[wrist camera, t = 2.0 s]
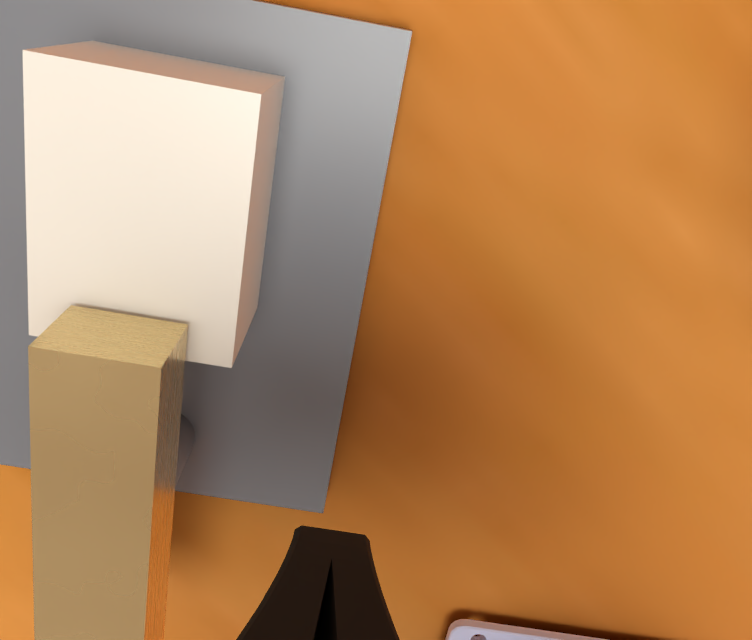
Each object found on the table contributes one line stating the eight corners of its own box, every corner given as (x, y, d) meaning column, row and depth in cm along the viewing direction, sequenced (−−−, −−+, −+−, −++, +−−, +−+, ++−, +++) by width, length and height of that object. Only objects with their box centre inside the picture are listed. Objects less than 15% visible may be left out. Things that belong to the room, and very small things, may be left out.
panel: (410, 29, 17) (418, 38, 13) (325, 492, 23) (311, 603, 19) (-9, -52, 17) (-141, -70, 13) (9, 444, 22) (-78, 546, 18)
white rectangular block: (285, 76, 17) (261, 94, 14) (257, 307, 19) (231, 368, 16) (92, 40, 17) (22, 50, 13) (89, 278, 19) (28, 335, 16)
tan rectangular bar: (187, 324, 15) (161, 367, 14) (160, 679, 20) (137, 748, 18) (71, 305, 15) (28, 346, 13) (69, 667, 20) (37, 735, 18)
